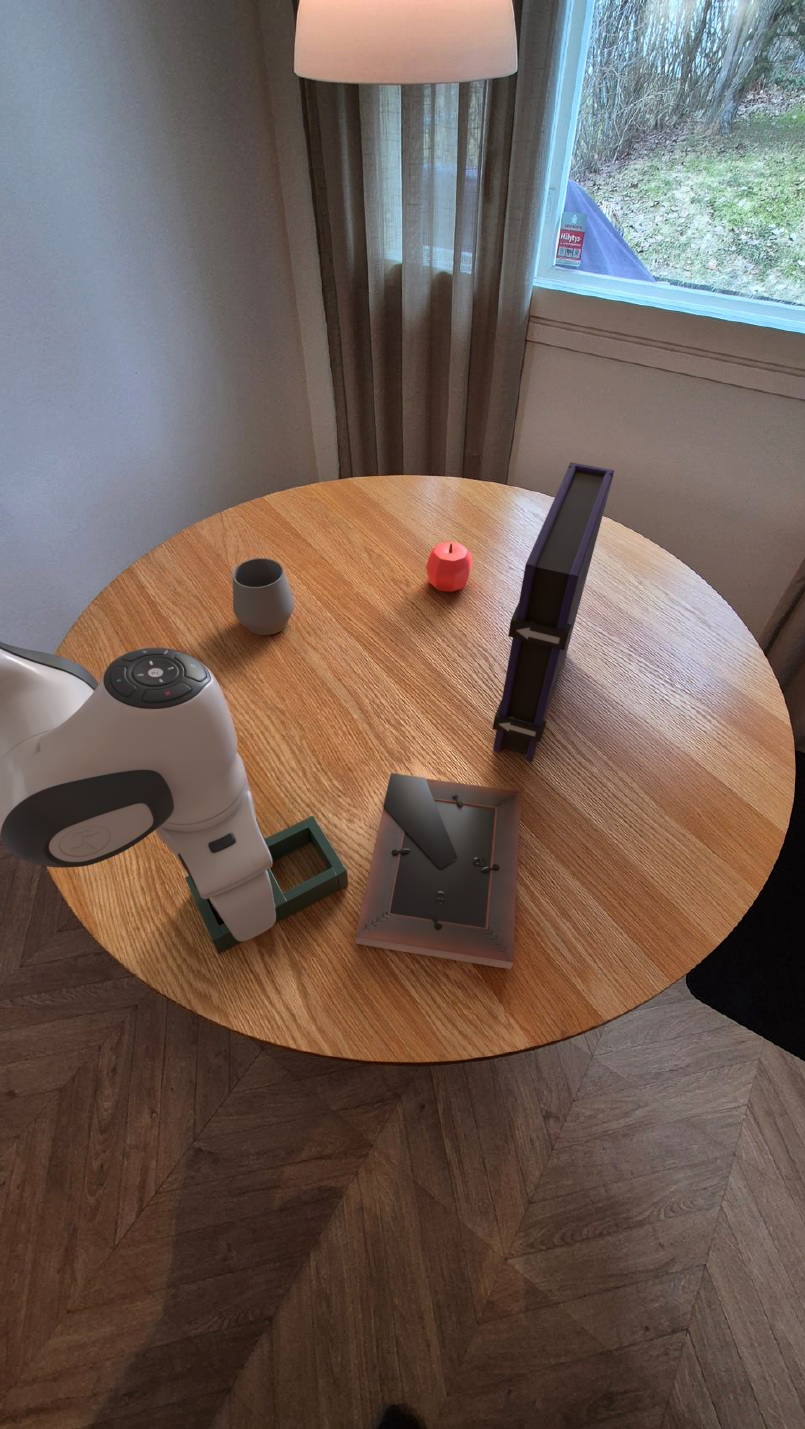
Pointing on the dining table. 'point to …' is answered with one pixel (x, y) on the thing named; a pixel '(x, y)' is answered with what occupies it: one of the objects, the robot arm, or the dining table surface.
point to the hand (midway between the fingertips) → (227, 877)
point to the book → (549, 606)
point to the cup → (262, 596)
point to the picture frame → (444, 872)
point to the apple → (449, 566)
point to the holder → (285, 901)
